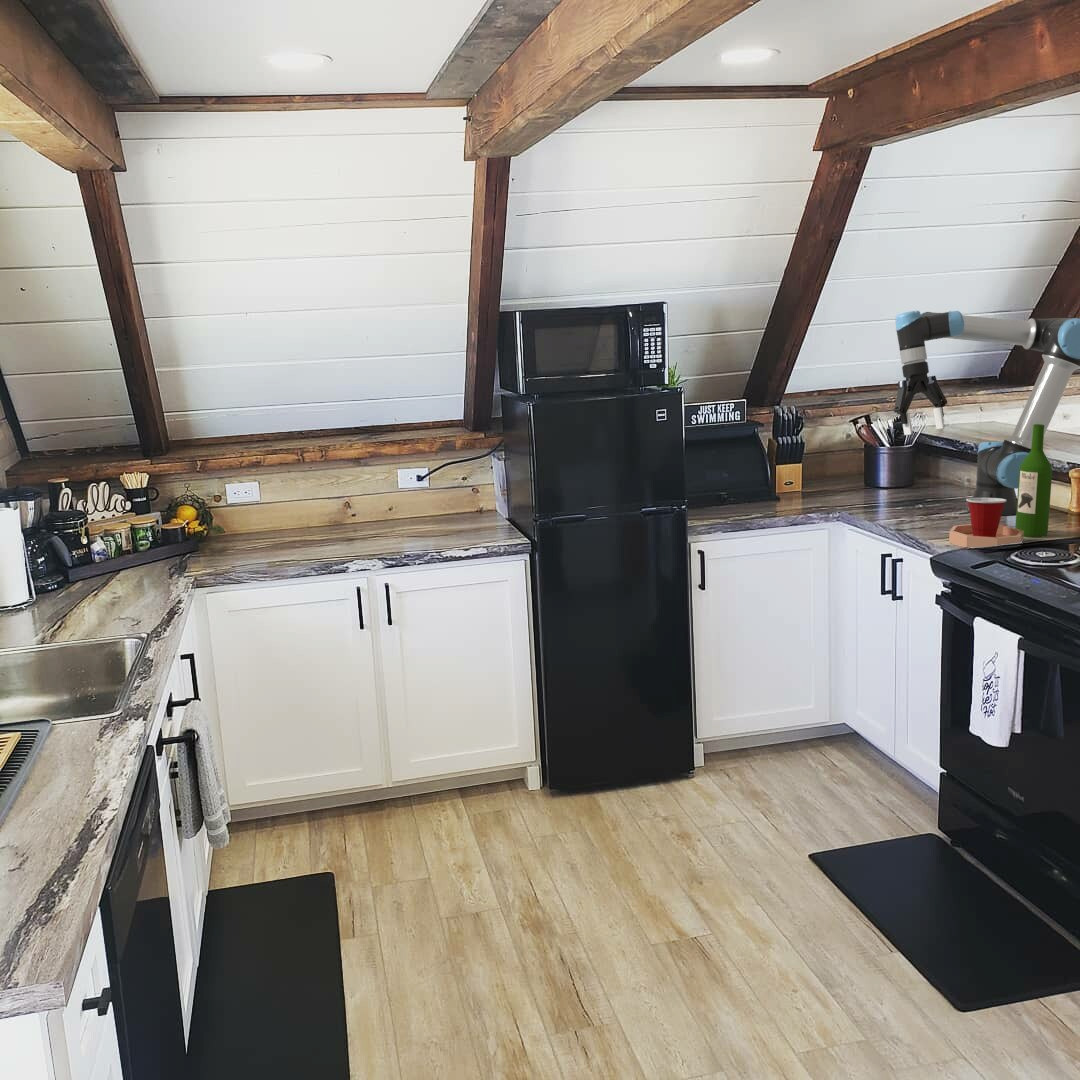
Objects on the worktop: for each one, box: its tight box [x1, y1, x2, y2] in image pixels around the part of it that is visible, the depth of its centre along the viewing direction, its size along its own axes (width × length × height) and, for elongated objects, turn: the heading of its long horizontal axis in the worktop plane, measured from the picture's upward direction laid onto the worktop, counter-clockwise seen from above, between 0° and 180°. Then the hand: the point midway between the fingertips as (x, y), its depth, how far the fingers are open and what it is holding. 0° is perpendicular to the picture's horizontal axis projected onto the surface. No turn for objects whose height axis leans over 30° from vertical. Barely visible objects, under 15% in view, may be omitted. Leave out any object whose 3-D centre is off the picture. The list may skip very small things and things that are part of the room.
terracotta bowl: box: [948, 523, 1024, 548], centre depth 323 cm, size 19×19×4 cm
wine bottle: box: [1014, 424, 1053, 538], centre depth 329 cm, size 9×9×32 cm
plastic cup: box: [965, 497, 1006, 538], centre depth 322 cm, size 11×11×12 cm
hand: (924, 431), depth 344 cm, fingers open, 13 cm apart
